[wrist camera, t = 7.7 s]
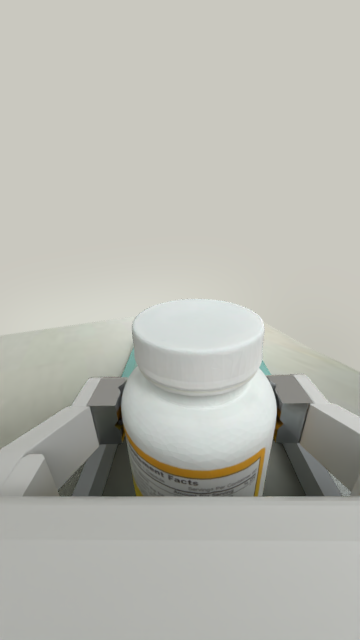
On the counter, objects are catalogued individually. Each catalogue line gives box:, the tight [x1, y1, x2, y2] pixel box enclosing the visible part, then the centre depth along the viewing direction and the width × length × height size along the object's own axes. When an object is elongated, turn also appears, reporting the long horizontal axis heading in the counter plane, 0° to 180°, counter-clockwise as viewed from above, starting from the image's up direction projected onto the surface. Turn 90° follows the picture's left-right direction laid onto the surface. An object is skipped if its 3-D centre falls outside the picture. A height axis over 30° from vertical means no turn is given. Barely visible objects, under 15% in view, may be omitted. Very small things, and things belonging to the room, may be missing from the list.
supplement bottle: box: [121, 299, 277, 497], centre depth 9 cm, size 5×5×10 cm
